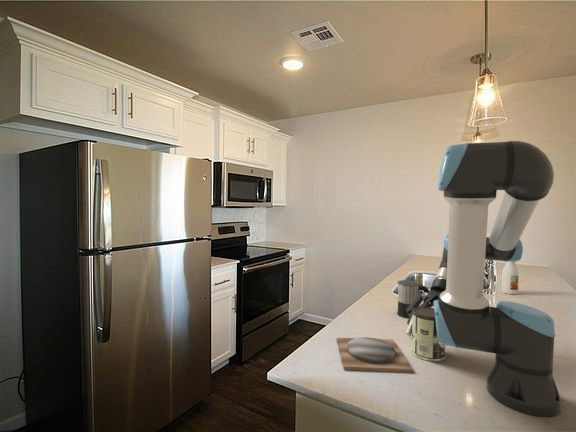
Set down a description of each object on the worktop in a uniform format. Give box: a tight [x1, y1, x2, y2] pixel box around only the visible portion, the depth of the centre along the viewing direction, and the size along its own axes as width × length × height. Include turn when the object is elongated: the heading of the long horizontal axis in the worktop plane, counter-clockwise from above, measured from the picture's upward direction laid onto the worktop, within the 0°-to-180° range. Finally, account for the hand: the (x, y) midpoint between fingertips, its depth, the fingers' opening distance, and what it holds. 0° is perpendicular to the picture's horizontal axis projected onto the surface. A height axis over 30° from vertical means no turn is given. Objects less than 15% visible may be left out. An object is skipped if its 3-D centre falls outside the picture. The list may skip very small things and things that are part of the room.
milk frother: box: [396, 279, 430, 319], centre depth 142 cm, size 14×16×15 cm
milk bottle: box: [500, 261, 519, 295], centre depth 176 cm, size 8×8×20 cm
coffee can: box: [410, 307, 446, 362], centre depth 102 cm, size 10×10×14 cm
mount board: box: [336, 336, 414, 373], centre depth 101 cm, size 20×20×2 cm
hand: (424, 340), depth 100 cm, fingers closed on coffee can, 10 cm apart
